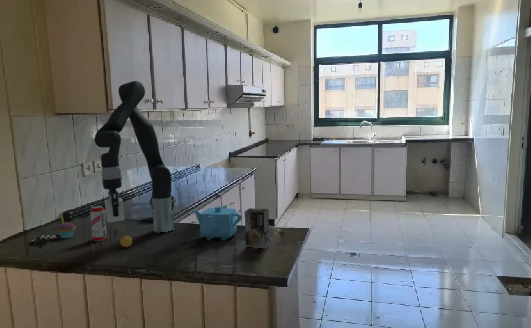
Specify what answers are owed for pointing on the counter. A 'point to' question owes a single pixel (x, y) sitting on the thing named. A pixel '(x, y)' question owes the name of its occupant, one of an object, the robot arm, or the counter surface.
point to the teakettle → (218, 222)
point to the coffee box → (257, 228)
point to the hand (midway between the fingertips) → (115, 214)
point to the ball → (126, 241)
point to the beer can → (98, 223)
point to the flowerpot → (171, 203)
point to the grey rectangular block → (110, 211)
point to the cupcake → (66, 229)
